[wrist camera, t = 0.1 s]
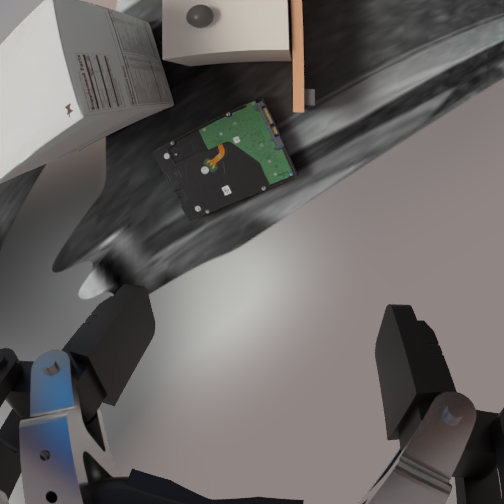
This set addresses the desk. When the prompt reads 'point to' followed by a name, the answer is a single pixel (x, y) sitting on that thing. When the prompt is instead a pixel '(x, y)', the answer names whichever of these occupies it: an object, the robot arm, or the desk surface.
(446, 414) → the robot arm
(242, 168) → the disk drive
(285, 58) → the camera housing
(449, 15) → the desk surface
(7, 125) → the supplement box
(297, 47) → the door
